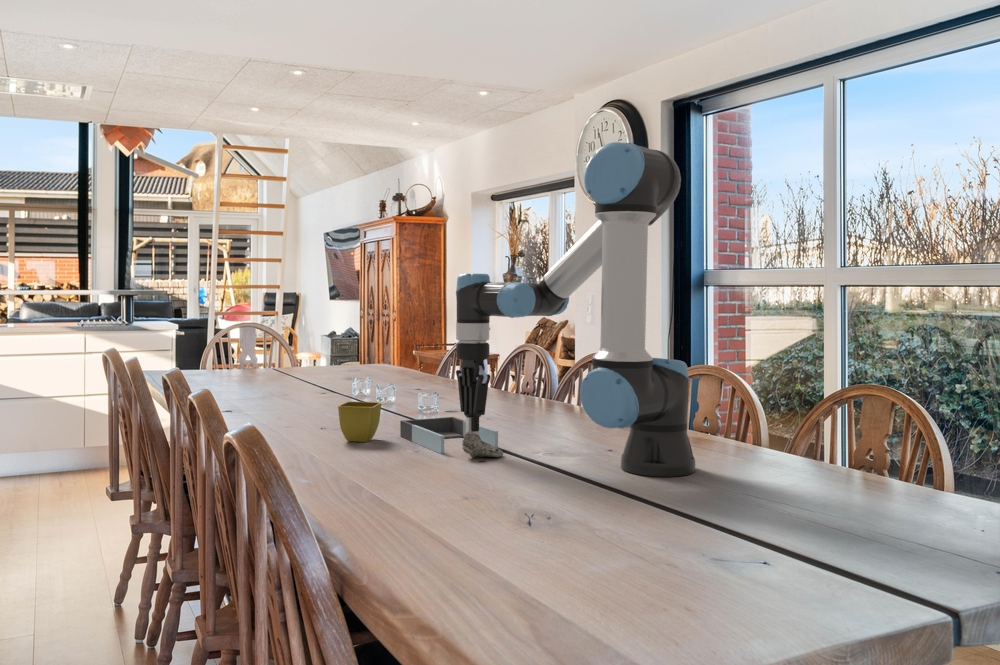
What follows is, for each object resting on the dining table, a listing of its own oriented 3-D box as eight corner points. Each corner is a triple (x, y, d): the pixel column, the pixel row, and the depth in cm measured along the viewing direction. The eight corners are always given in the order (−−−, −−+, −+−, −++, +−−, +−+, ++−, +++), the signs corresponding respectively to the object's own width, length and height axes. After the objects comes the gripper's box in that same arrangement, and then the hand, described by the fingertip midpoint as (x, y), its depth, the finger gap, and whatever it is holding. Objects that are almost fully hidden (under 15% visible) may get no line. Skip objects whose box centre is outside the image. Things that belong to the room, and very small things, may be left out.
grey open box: (465, 436, 207) (465, 420, 207) (411, 441, 200) (411, 425, 200) (453, 432, 214) (453, 416, 213) (400, 436, 207) (400, 420, 206)
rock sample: (503, 444, 176) (480, 415, 180) (475, 467, 176) (452, 437, 180) (514, 456, 185) (492, 428, 189) (488, 478, 185) (466, 449, 189)
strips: (497, 448, 192) (498, 431, 192) (440, 453, 185) (441, 436, 185) (465, 436, 207) (465, 420, 207) (411, 441, 200) (411, 425, 200)
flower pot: (382, 437, 205) (382, 401, 204) (373, 444, 196) (373, 406, 196) (347, 436, 206) (347, 401, 205) (337, 443, 197) (337, 406, 197)
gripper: (501, 343, 182) (500, 448, 184) (474, 339, 194) (474, 438, 195) (470, 343, 179) (470, 451, 180) (445, 340, 190) (445, 441, 191)
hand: (472, 444), depth 188 cm, fingers closed
